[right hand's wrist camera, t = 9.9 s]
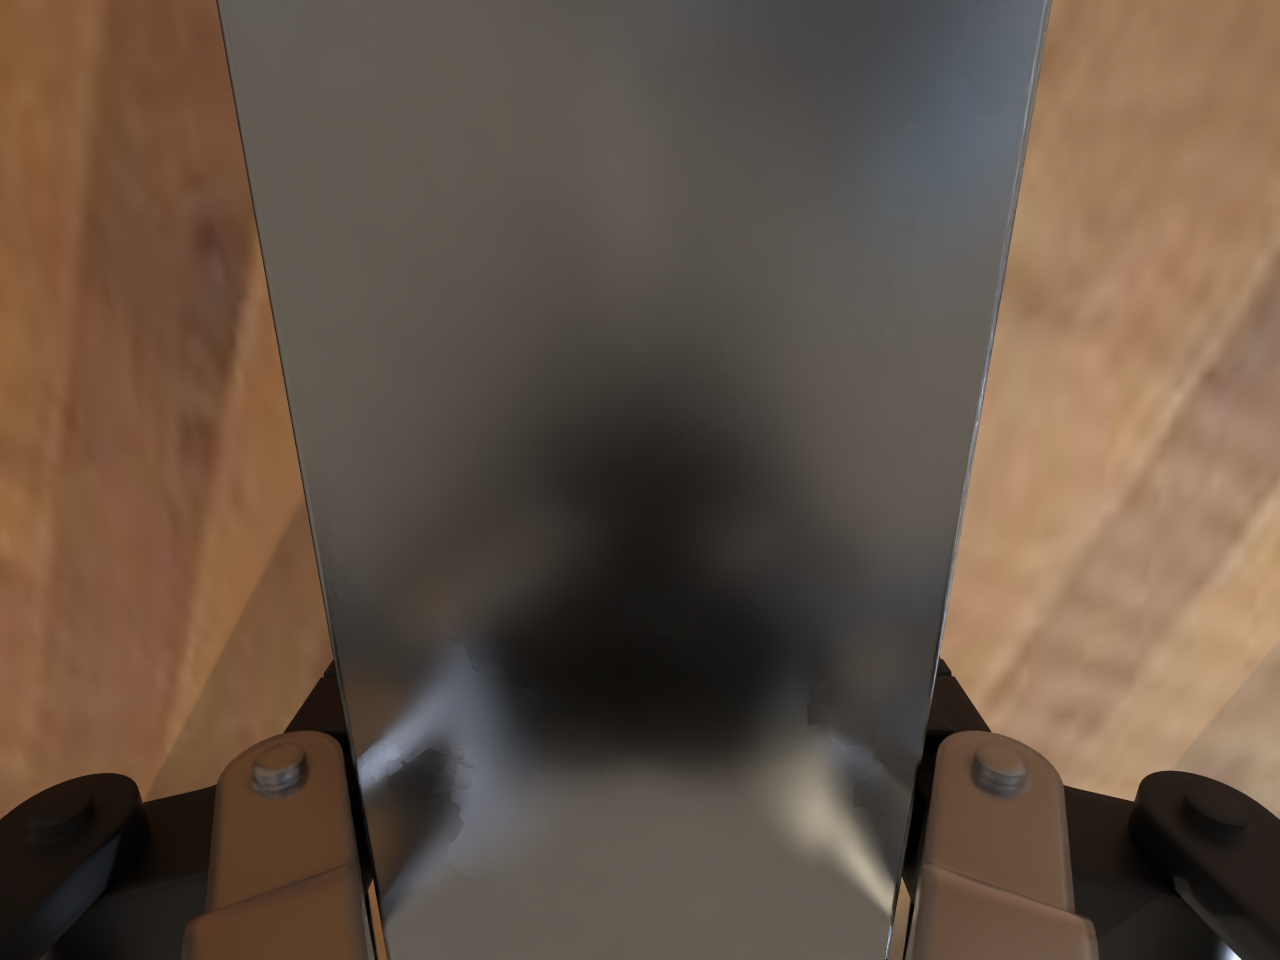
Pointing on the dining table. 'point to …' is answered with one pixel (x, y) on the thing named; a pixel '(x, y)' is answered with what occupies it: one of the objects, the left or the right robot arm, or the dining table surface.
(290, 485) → the dining table surface
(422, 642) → the box
